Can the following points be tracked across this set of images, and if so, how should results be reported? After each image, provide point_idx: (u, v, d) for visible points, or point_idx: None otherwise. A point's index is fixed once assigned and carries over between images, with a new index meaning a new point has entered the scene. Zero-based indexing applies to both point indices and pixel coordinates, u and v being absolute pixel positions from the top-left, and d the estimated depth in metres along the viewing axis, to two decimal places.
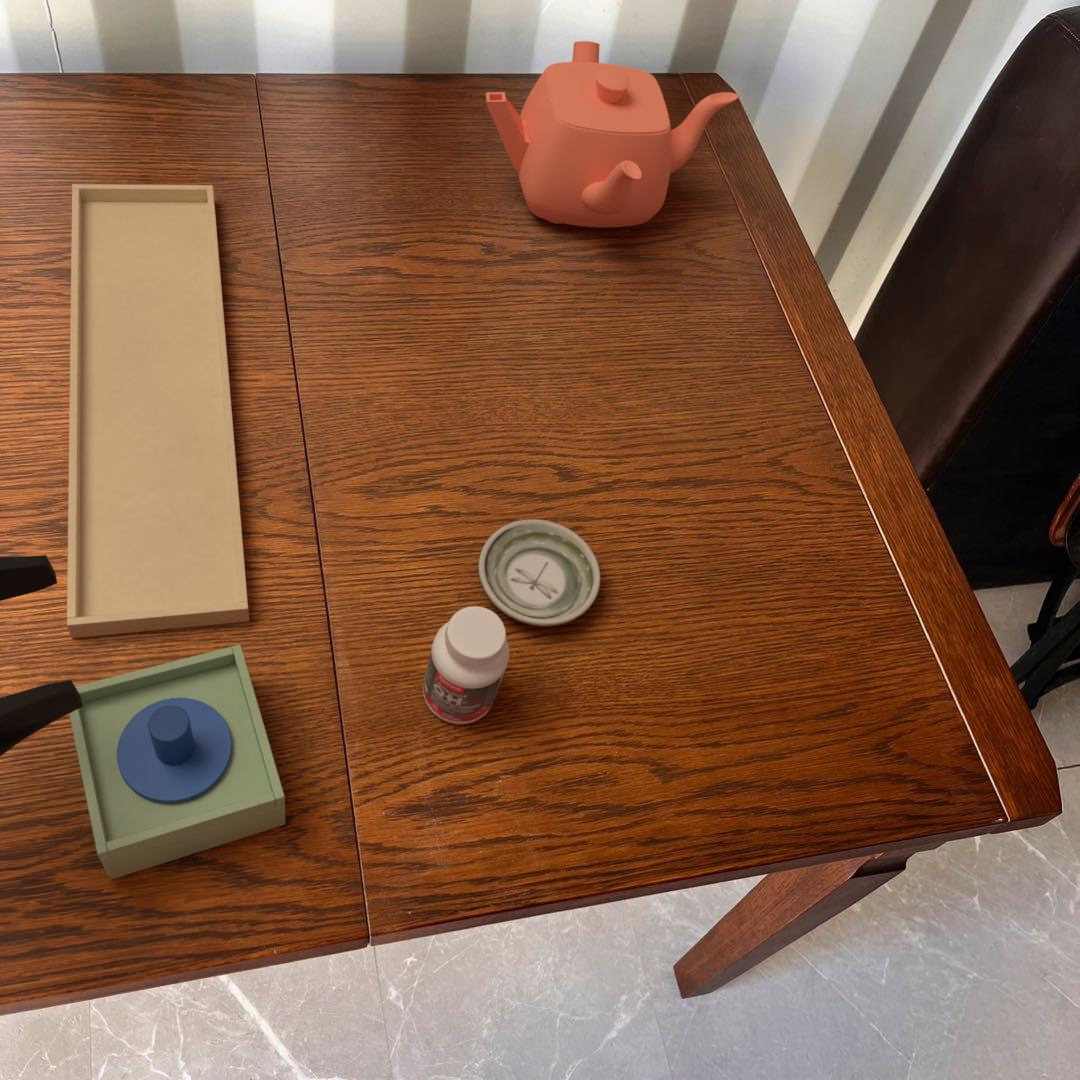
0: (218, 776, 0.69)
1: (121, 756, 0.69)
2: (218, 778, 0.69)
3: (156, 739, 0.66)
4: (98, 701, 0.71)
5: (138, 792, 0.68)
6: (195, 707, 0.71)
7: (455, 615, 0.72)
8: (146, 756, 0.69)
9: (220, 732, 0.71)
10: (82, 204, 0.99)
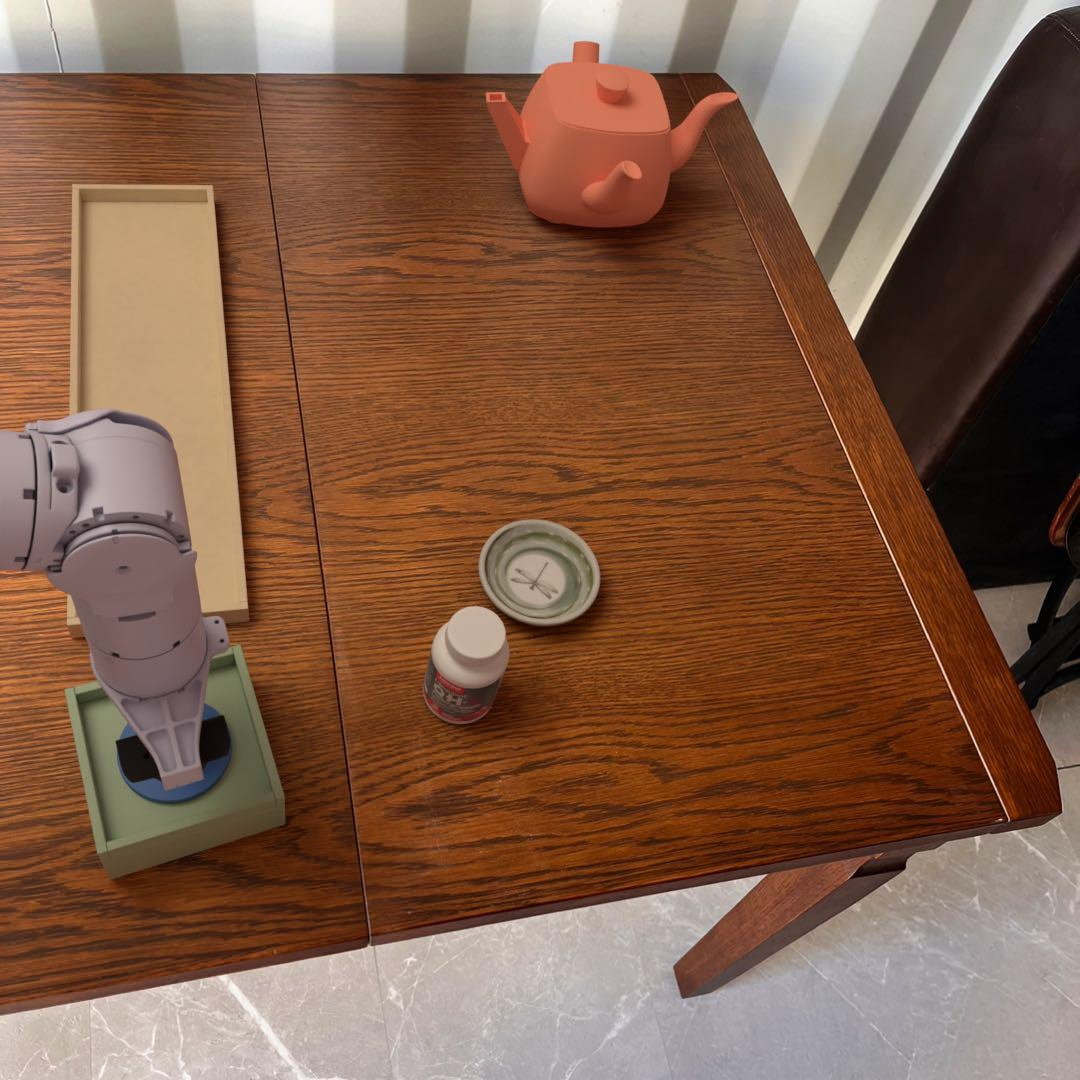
0: (218, 776, 0.69)
1: None
2: (218, 778, 0.69)
3: None
4: (98, 701, 0.71)
5: (138, 792, 0.68)
6: None
7: (455, 615, 0.72)
8: None
9: None
10: (82, 204, 0.99)
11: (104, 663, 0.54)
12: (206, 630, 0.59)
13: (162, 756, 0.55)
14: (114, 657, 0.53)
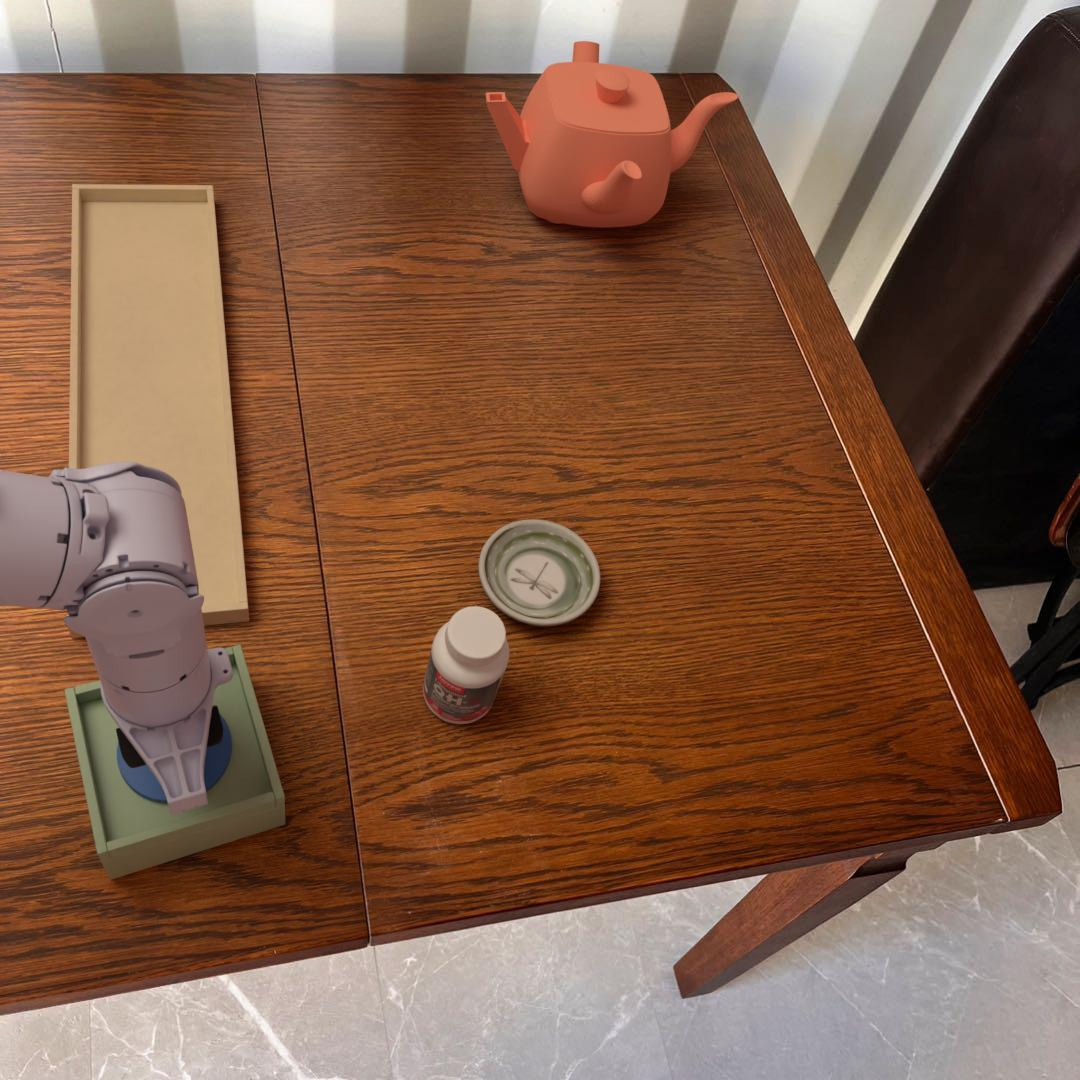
0: (218, 776, 0.69)
1: (121, 756, 0.69)
2: (218, 778, 0.69)
3: None
4: (98, 701, 0.71)
5: (138, 792, 0.68)
6: None
7: (455, 615, 0.72)
8: None
9: None
10: (82, 204, 0.99)
11: (114, 695, 0.57)
12: (210, 661, 0.62)
13: (169, 782, 0.58)
14: (124, 690, 0.56)
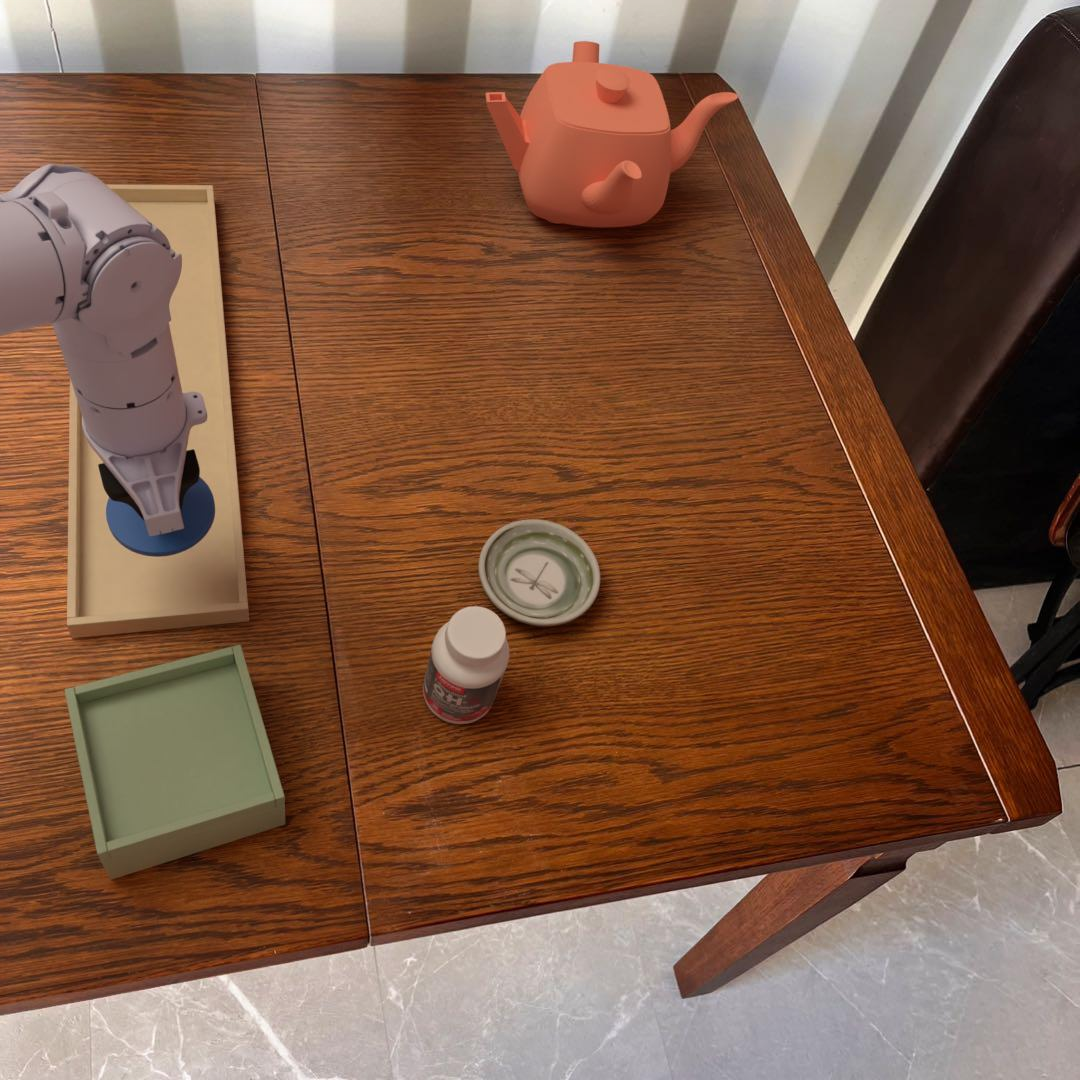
0: (201, 533, 0.73)
1: (110, 513, 0.72)
2: (201, 535, 0.73)
3: None
4: (98, 701, 0.71)
5: (126, 544, 0.72)
6: None
7: (455, 615, 0.72)
8: (133, 514, 0.73)
9: (203, 495, 0.74)
10: None
11: (92, 417, 0.61)
12: (186, 403, 0.66)
13: (146, 504, 0.62)
14: (100, 407, 0.59)
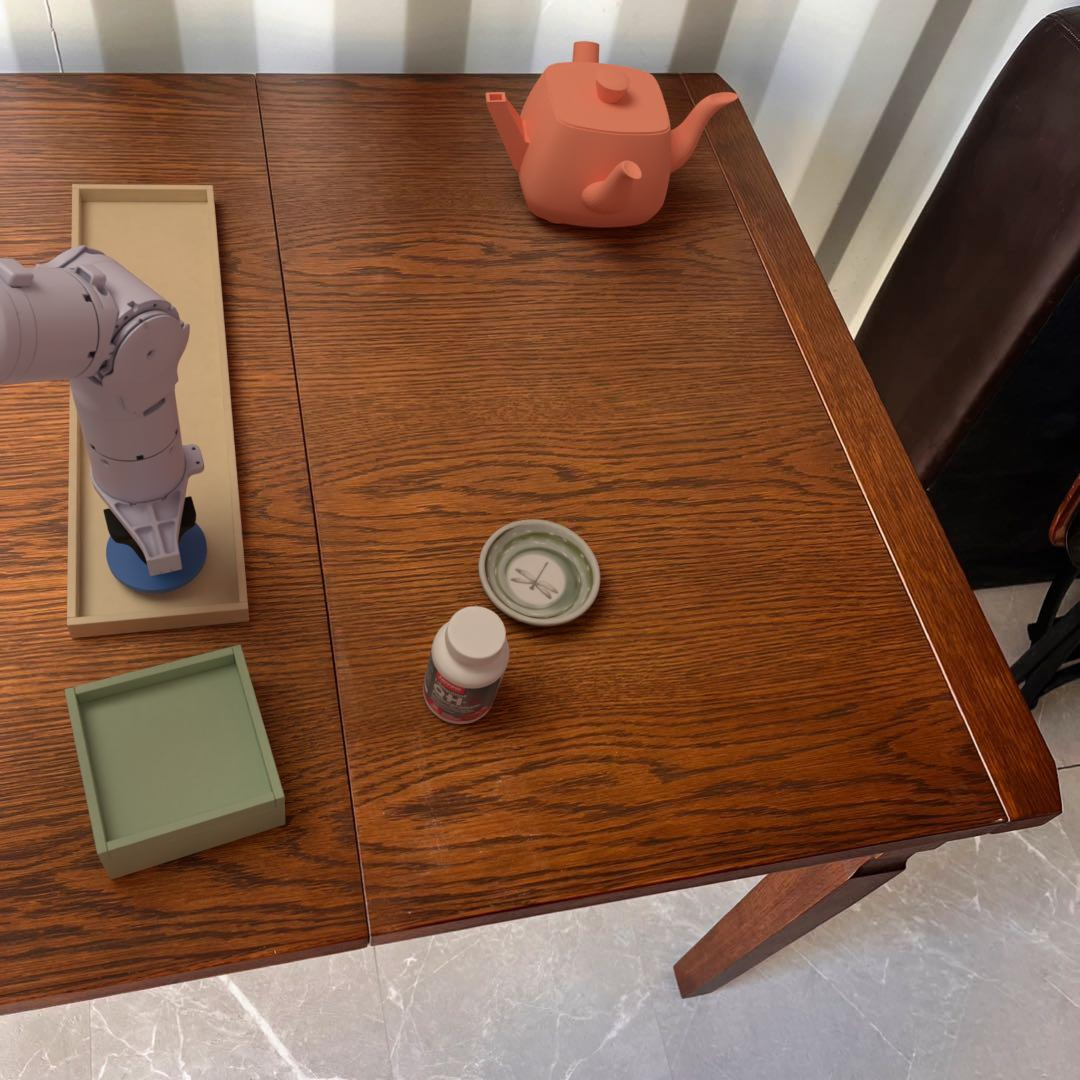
0: (194, 572, 0.79)
1: (110, 553, 0.79)
2: (194, 574, 0.79)
3: None
4: (98, 701, 0.71)
5: (124, 582, 0.78)
6: None
7: (455, 615, 0.72)
8: (131, 554, 0.79)
9: (196, 537, 0.81)
10: (82, 204, 0.99)
11: (101, 467, 0.67)
12: (185, 454, 0.72)
13: (148, 547, 0.68)
14: (109, 459, 0.66)
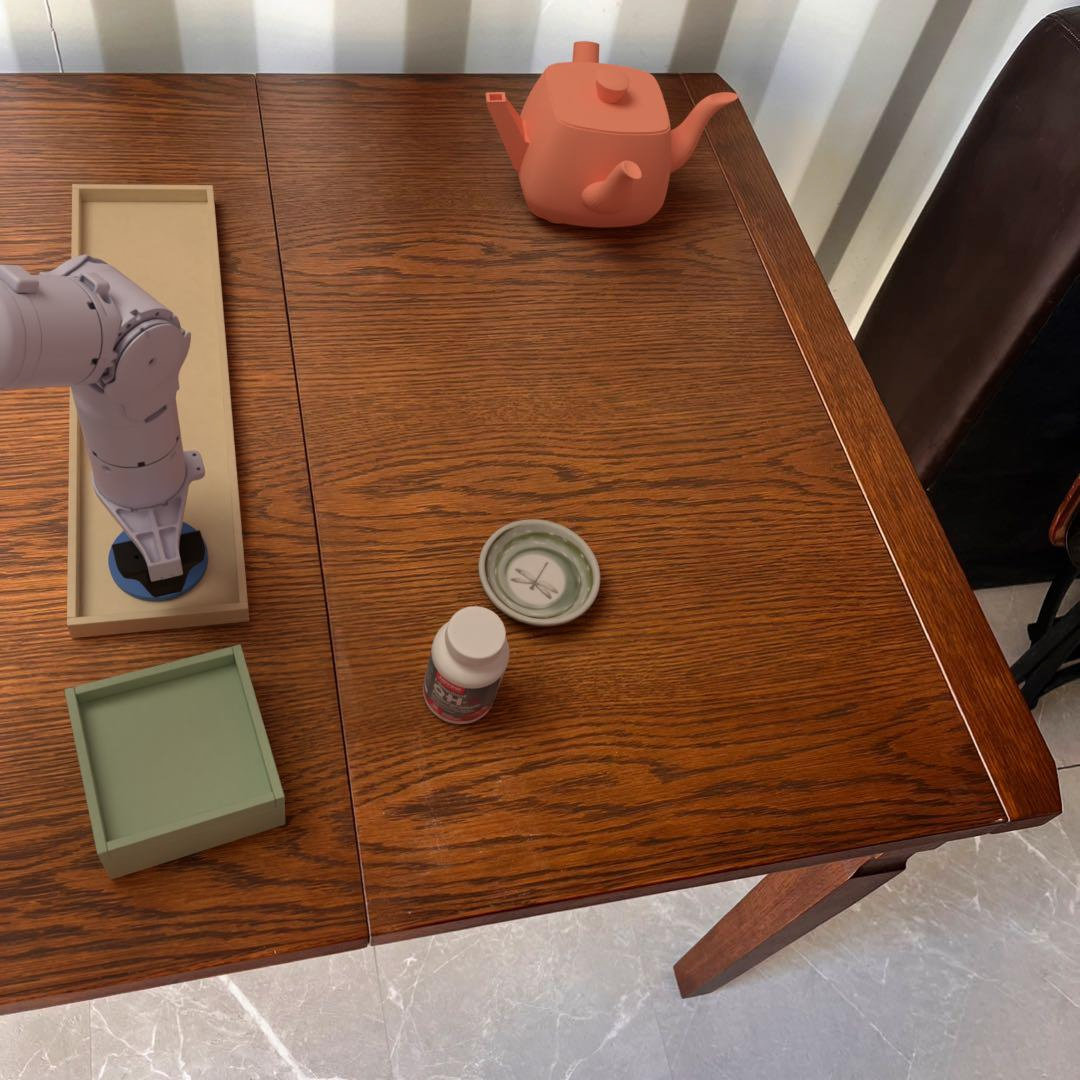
0: (196, 580, 0.80)
1: (112, 561, 0.79)
2: (196, 582, 0.80)
3: None
4: (98, 701, 0.71)
5: (126, 590, 0.79)
6: None
7: (455, 615, 0.72)
8: None
9: None
10: (82, 204, 0.99)
11: (103, 474, 0.68)
12: (185, 460, 0.73)
13: (149, 552, 0.69)
14: (111, 465, 0.66)
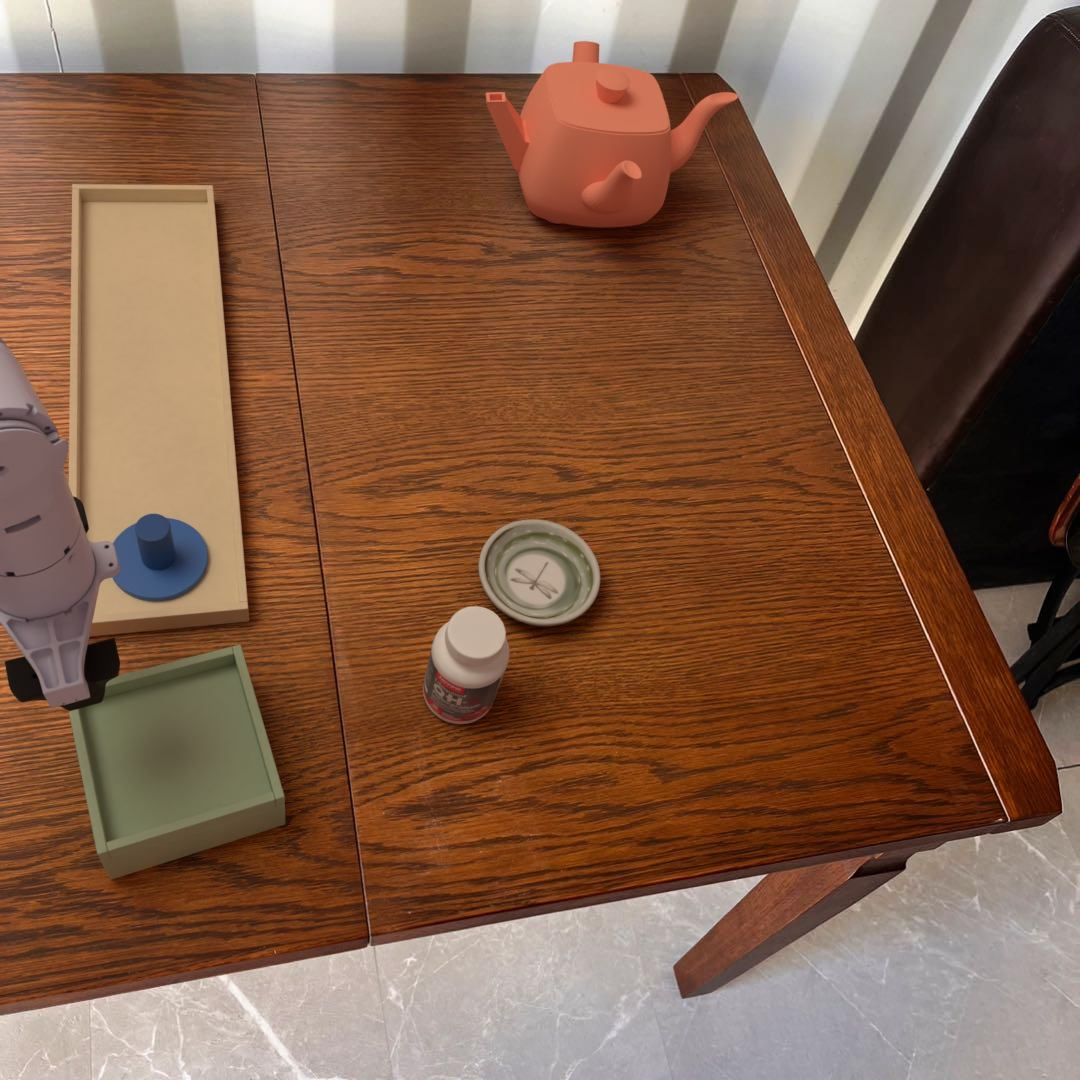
0: (196, 580, 0.80)
1: None
2: (196, 582, 0.80)
3: (141, 539, 0.77)
4: None
5: (126, 590, 0.79)
6: (176, 525, 0.82)
7: (455, 615, 0.72)
8: (133, 562, 0.80)
9: (198, 545, 0.81)
10: (82, 204, 0.99)
11: None
12: (96, 554, 0.60)
13: (46, 674, 0.57)
14: None
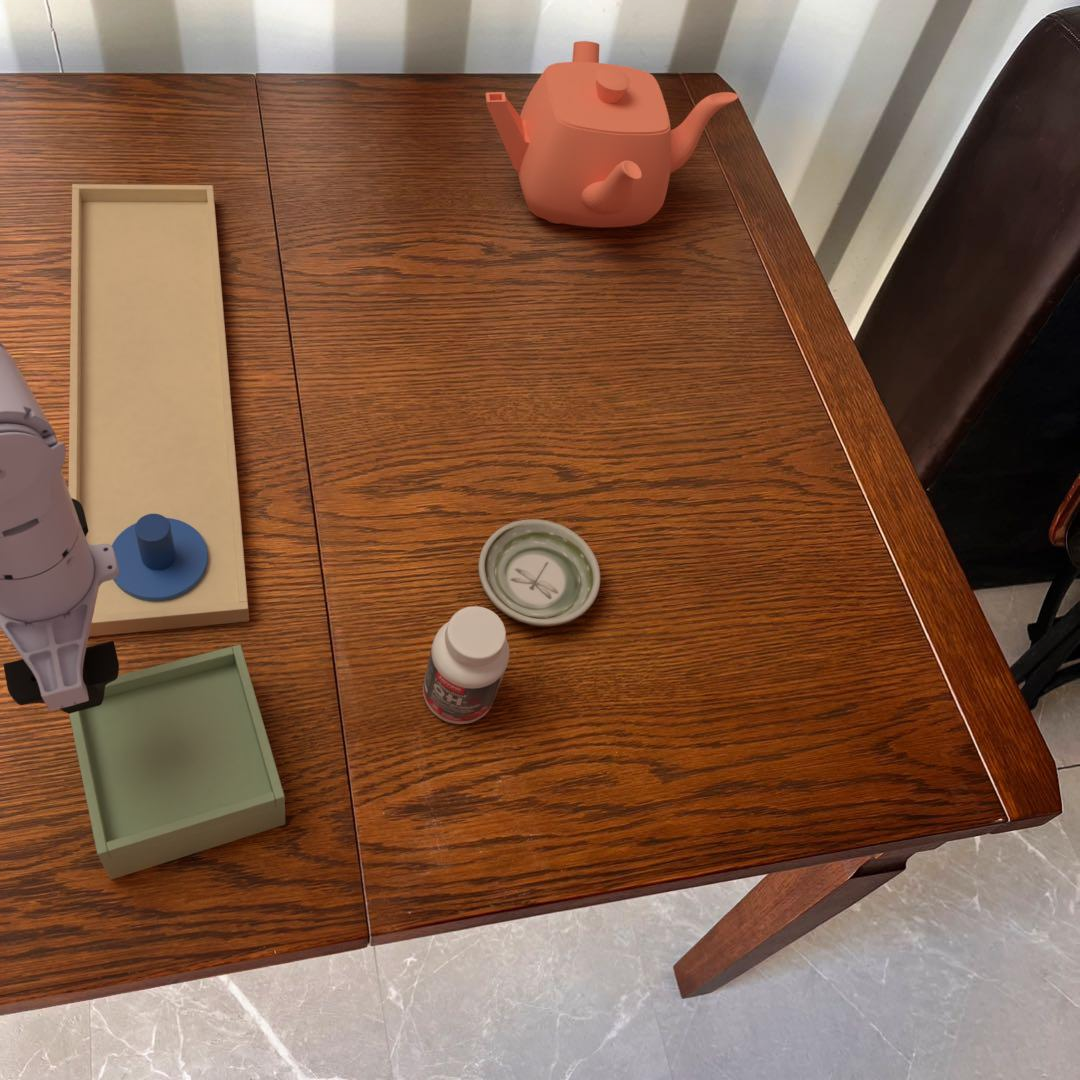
0: (196, 580, 0.80)
1: None
2: (196, 582, 0.80)
3: (141, 539, 0.77)
4: None
5: (126, 590, 0.79)
6: (176, 525, 0.82)
7: (455, 615, 0.72)
8: (133, 562, 0.80)
9: (198, 545, 0.81)
10: (82, 204, 0.99)
11: None
12: (95, 557, 0.60)
13: (45, 677, 0.56)
14: None
